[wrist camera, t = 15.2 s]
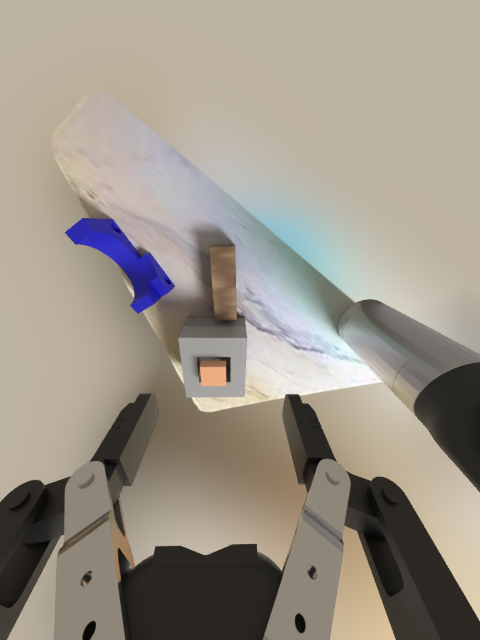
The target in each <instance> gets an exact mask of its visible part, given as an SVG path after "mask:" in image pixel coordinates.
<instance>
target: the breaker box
mask: <svg viewBox="0 0 480 640" xmlns="http://www.w3.org/2000/svg"><path fill="white" fill-rule="evenodd" d="M178 342H179V349H180V356H181V363H182V370H183V377H184V384H185V391H186V397H244V395H245V372H246V350H247V334H246V325H245V317H237V320H215V317H188V318H187V320H186V322H185V324H184V326H183V328H182V331H181V333H180V335H179V337H178ZM210 359H220V361H226V386H202V385H201V374H200V364H201V361H210Z"/></svg>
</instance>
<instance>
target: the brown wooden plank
mask: <svg viewBox="0 0 480 640" xmlns="http://www.w3.org/2000/svg"><path fill="white" fill-rule="evenodd" d="M209 252H210V264H211V277H212V289H213V302H214V314H215V320H237V310H236V267H235V245H211V246H210V247H209Z"/></svg>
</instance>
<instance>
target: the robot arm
mask: <svg viewBox="0 0 480 640" xmlns="http://www.w3.org/2000/svg"><path fill="white" fill-rule="evenodd" d="M338 333H339V336H340V337H341V338H342V339H343V340H344V342H345V343H346V344H347V345H348V346H349V347H350V348H351V349H352V350H353V351H354V352H355V353H356V354H357V355H358V356H359V357H360V358H361V359H362V361H363V362H364V363H365V364H366V365H367V366H368V367H369V368H370V369H371V370H372V371H373V372H374V373H375V374H376V375H377V376H378V377H379V378H380V379H381V380H382V381H383V382H384V384H386V385H387V387H388V388H389V389H390V390H391V391H392V392H393V393H394V394H395V395H396V396H397V397H398V398H399V399H400V400H401V401H402V402H403V403H404V404H405V405H406V406H407V408H408V409H409V410H410V411H411V412H412V413H413V414H414V415H415V416H416V417H417V418H418V419H419V420H420V421H421V422H422V423H423V425H424V426H425V427H426V428H427V429H428V431H429V432H430V434H431V435H432V437H433V438H434V440H435V441H436V443H437V444H438V445H439V446H440V448H441V449H442V450H443V451H444V452H445V453H446V454H447V455H448V457H449V458H450V459H451V460H452V461H453V462H454V463H455V464H456V466H457V467H458V468H459V469H460V470H461V471H462V472H463V474H464V475H465V476H466V477H467V478H468V479H469V481H471V483H472V484H473V485H474V486H475V487H476V489H477V490H478V491H479V492H480V354H479V353H477V352H475V351H473V350H472V349H470V348H468V347H465V346H464V345H462V344H460V343H458V342H456V341H454V340H452V339H450V338H448V337H446V336H444V335H442V334H441V333H439V332H437V331H435V330H433V329H432V328H430V327H428V326H426V325H424V324H422V323H420V322H418V321H416V320H414V319H412V318H410V317H409V316H407V315H405V314H403V313H401V312H399V311H397V310H395V309H393V308H391V307H389V306H387V305H385V304H383V303H381V302H380V301H377V300H372V299H370V300H369V299H367V300H362V301H359V302H356V303H355V304H354V305H352V306H351V307H349V308H348V309H347V310H346V311H345V312H344V313H343V315H342V316H341V318H340V320H339V322H338ZM158 414H159V411H158V406H157V402H156V398H155V395H154V394H140V395H139V396H138V398H137V399H136V401H135V403H129V404H128V405H127V406H126V407H125V408H124V409H123V410H122V411H121V412H120V414H119V416H118V417H117V419H116V421H115V422H114V423H113V425H112V427H111V429H110V430H109V432H108V433H107V435H106V437H105V438H104V440H103V441H102V443H101V445H100V446H99V448H98V450H97V451H96V453H95V454H94V456H93V458H92V459H91V460H90V462H89V463H87V464H85V465H83V466H82V467H80V468H79V469H78V470H77V471H75V472H74V474H73V475H72V476H70V477H67V478H65V479H62V480H59V481H56V482H53V483H50V484H47V485H44V484H43V483H42V482H41V481H39V480H32V481H28V482H26V483H23V484H22V485H20V486H18V487H17V488H15V489H14V490H13V491H11V492H10V493H9V494H8V495H7V496H6V497H5V498H4V499H3V500H2V501H1V502H0V640H7V638H8V636H9V634H10V632H11V630H12V628H13V626H14V625H15V623H16V621H17V619H18V617H19V615H20V613H21V611H22V609H23V607H24V605H25V603H26V601H27V600H28V597H29V596H30V594H31V592H32V590H33V588H34V586H35V584H36V582H37V580H38V578H39V576H40V575H41V573H42V571H43V569H44V567H45V565H46V563H47V561H48V559H49V557H50V555H51V553H52V551H53V549H54V547H55V546H56V544H57V542H58V540H59V538H60V536H61V535H64V545H63V547H62V548H61V549H60V550H59V552H58V556H57V569H56V570H57V571H56V601H55V629H54V640H330V634H331V627H332V621H333V615H334V608H335V601H336V595H337V589H338V582H339V576H340V569H341V563H342V556H343V545H344V544H343V541H342V535H343V529H344V526H347V527H349V528H352V529H354V530H356V531H357V532H358V535H359V538H360V541H361V543H362V546H363V549H364V552H365V554H366V557H367V560H368V563H369V566H370V569H371V571H372V574H373V577H374V580H375V583H376V585H377V588H378V591H379V594H380V597H381V599H382V602H383V605H384V608H385V610H386V613H387V616H388V619H389V622H390V624H391V627H392V630H393V633H394V636H395V638H396V640H480V621H479V619H478V618H477V616H476V614H475V612H474V611H473V609H472V607H471V606H470V604H469V602H468V600H467V599H466V597H465V595H464V594H463V592H462V590H461V588H460V587H459V585H458V583H457V582H456V580H455V579H454V577H453V575H452V573H451V571H450V570H449V568H448V566H447V565H446V563H445V561H444V559H443V558H442V556H441V554H440V553H439V551H438V549H437V547H436V546H435V544H434V542H433V541H432V539H431V537H430V536H429V534H428V532H427V530H426V529H425V527H424V525H423V524H422V522H421V520H420V518H419V517H418V515H417V513H416V512H415V510H414V508H413V507H412V505H411V503H410V501H409V500H408V498H407V496H406V495H405V493H404V492H403V491H402V490H401V489H400V487H398V486H397V485H396V484H395V483H394V482H392V481H390V480H389V479H387V478H384V477H375V478H373V480H372V481H369V480H367V479H364V478H361V477H358V476H355V475H353V474H351V473H349V472H347V471H346V470H345V469H344V468H343V467H342V466H341V465H340V464H339V463H338V462H337V461H336V459H335V457H334V455H333V453H332V450H331V448H330V446H329V443H328V441H327V439H326V436H325V434H324V432H323V430H322V428H321V425H320V422H319V421H318V418H317V415H316V413H315V411H314V410H313V409H312V408H311V406H310V405H309V404H303V403H302V401H301V398H300V396H299V395H298V394H286V396H285V401H284V406H283V422H284V426H285V430H286V434H287V438H288V442H289V446H290V451H291V455H292V459H293V462H294V467H295V471H296V475H297V479H298V483H299V484H305V485H306V489H307V496H306V500H305V502H304V506H303V509H302V512H301V515H300V518H299V521H298V524H297V527H296V531H295V533H294V536H293V539H292V542H291V545H290V548H289V551H288V554H287V557H286V560H285V563H284V566H283V569H282V571H281V570H280V568H279V567H278V566H277V565H276V564H275V563H274V562H273V561H272V560H271V559H270V558H268V557H267V556H265V555H263V554H262V553H260V552H257V544H236V545H230V546H228V547H225V548H223V549H221V550H218V551H216V552H213V553H211V554H209V555H202V554H200V553H197V552H195V551H192V550H190V549H187V548H185V547H182V546H156V547H155V551H154V555H152V556H150V557H149V558H147V559H145V560H143V561H142V562H141V563H139V564H138V565H137V566H136V567H135V564H134V559H133V556H132V552H131V548H130V545H129V542H128V538H127V533H126V527H125V522H124V517H123V512H122V506H121V501H120V496H119V495H120V493H121V490H122V488H123V486H132V483H133V481H134V478H135V476H136V473H137V471H138V468H139V465H140V463H141V460H142V458H143V455H144V453H145V450H146V448H147V445H148V443H149V440H150V438H151V435H152V433H153V430H154V428H155V425H156V423H157V420H158Z"/></svg>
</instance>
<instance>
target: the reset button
mask: <svg viewBox="0 0 480 640" xmlns="http://www.w3.org/2000/svg"><path fill="white" fill-rule="evenodd" d="M200 374H201V385H202V386H226V361H220V359H210V361H201V364H200Z"/></svg>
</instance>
